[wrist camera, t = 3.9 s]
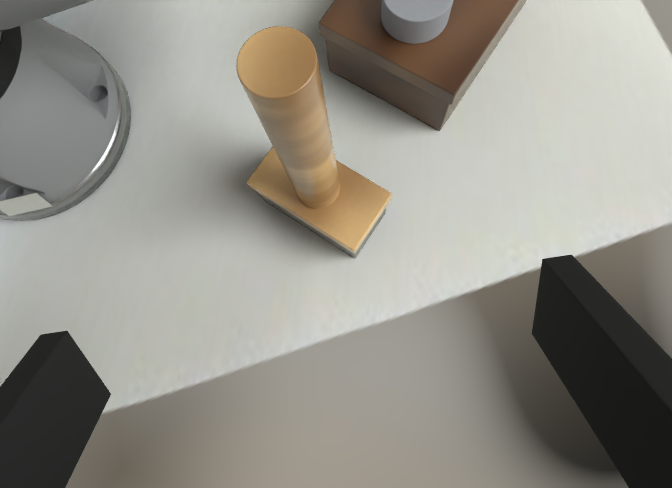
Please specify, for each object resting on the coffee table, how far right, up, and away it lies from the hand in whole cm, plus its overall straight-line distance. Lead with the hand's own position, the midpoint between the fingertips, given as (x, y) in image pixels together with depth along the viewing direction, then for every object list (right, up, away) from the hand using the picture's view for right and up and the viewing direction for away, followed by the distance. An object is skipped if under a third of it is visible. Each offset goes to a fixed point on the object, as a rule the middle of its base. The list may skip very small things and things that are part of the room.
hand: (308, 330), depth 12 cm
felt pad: (+6, +18, +15) cm, 24 cm away
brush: (0, +5, +18) cm, 19 cm away
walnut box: (+8, +19, +21) cm, 29 cm away
